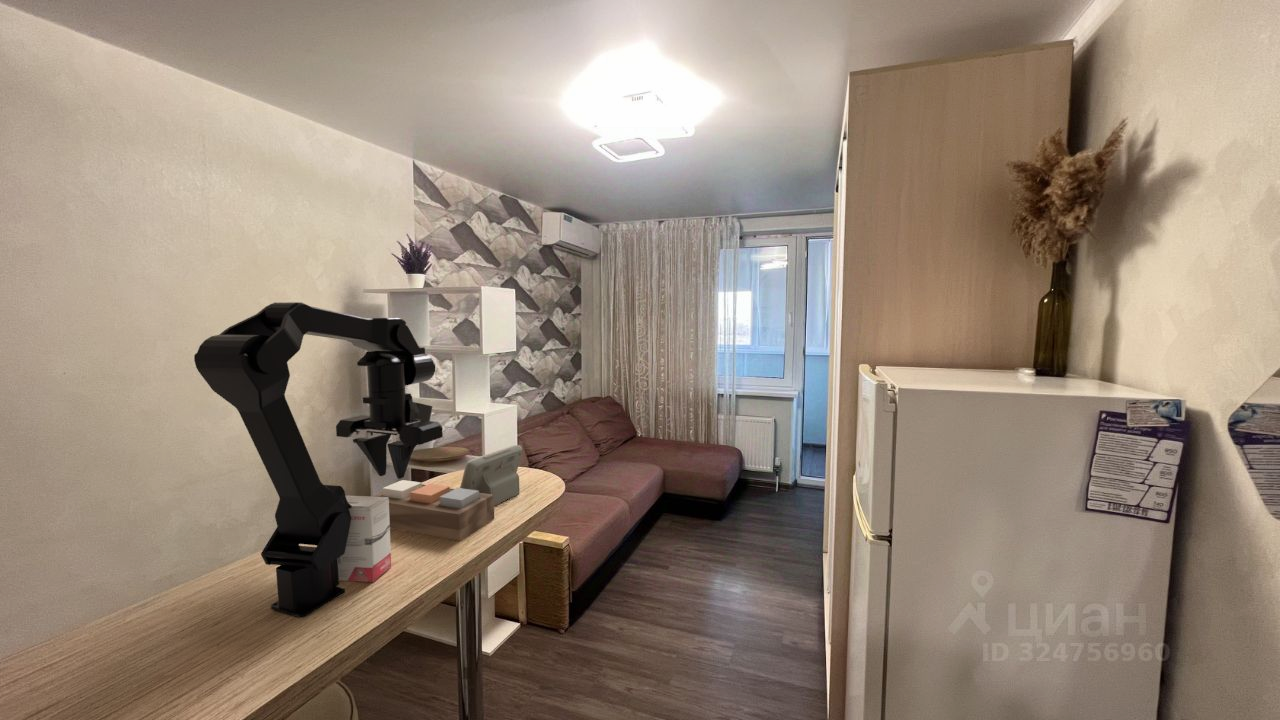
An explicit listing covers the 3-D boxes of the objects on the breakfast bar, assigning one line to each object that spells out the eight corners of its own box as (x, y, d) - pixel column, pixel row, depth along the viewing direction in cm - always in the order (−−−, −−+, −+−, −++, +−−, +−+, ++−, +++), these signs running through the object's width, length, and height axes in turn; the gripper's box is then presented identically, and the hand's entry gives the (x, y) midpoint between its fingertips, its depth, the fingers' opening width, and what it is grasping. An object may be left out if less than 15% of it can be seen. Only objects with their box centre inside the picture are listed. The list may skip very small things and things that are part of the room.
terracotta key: (431, 510, 91) (431, 495, 91) (411, 507, 93) (410, 492, 93) (450, 501, 96) (449, 486, 96) (430, 498, 98) (429, 483, 97)
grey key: (462, 515, 89) (461, 500, 89) (440, 512, 91) (439, 496, 90) (479, 505, 94) (478, 490, 94) (458, 502, 95) (457, 487, 95)
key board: (460, 541, 87) (459, 514, 86) (367, 523, 94) (366, 499, 93) (494, 518, 96) (493, 494, 96) (407, 504, 103) (406, 482, 103)
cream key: (403, 506, 94) (402, 491, 93) (383, 502, 95) (382, 488, 95) (422, 496, 98) (421, 482, 98) (403, 493, 100) (402, 479, 100)
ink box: (394, 566, 78) (390, 495, 77) (373, 583, 73) (369, 507, 72) (344, 563, 79) (339, 493, 78) (321, 580, 74) (316, 505, 73)
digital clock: (511, 483, 116) (510, 440, 115) (535, 492, 110) (533, 447, 109) (448, 504, 104) (446, 456, 103) (471, 515, 98) (469, 464, 97)
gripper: (462, 385, 88) (465, 468, 90) (384, 381, 94) (388, 458, 96) (415, 395, 78) (420, 488, 79) (331, 389, 84) (336, 476, 85)
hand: (391, 476), depth 85 cm, fingers open, 4 cm apart
